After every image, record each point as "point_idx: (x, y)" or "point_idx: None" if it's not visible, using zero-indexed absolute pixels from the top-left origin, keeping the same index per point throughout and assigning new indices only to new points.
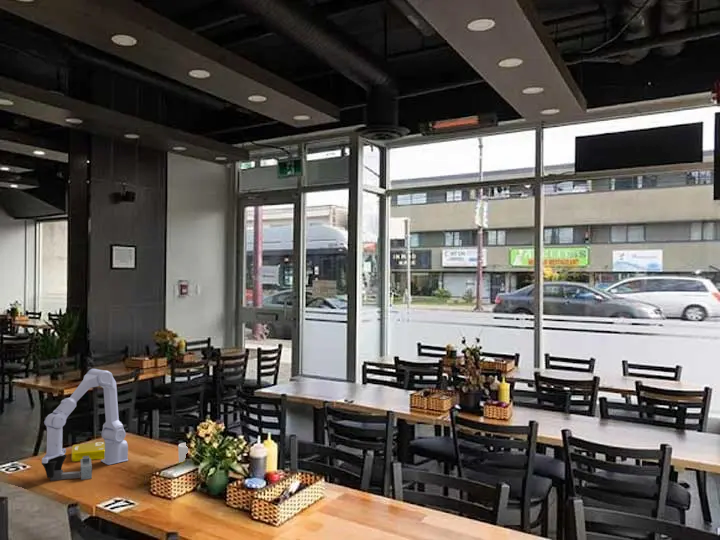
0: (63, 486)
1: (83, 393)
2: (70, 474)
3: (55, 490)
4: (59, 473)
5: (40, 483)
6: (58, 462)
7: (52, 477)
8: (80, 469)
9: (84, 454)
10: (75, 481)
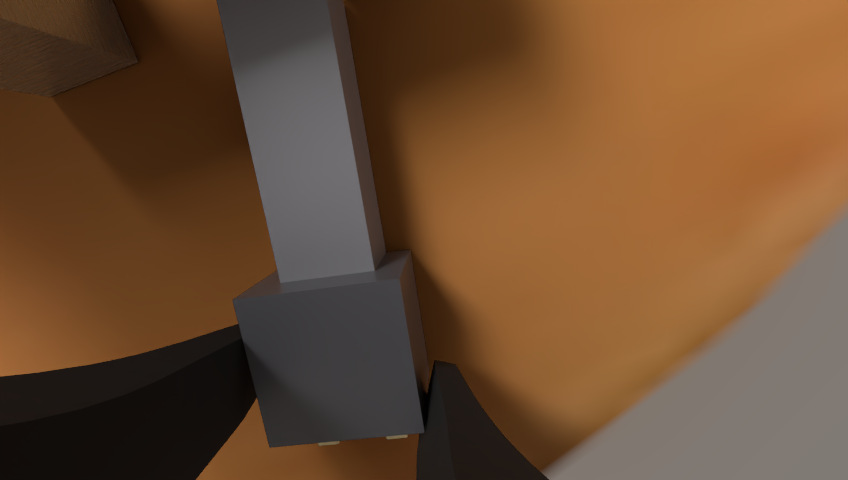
0: (694, 126)
1: None
2: (353, 132)
3: (844, 185)
4: (405, 298)
5: None
6: (138, 461)
7: (447, 363)
8: (47, 76)
9: None
10: (498, 16)
